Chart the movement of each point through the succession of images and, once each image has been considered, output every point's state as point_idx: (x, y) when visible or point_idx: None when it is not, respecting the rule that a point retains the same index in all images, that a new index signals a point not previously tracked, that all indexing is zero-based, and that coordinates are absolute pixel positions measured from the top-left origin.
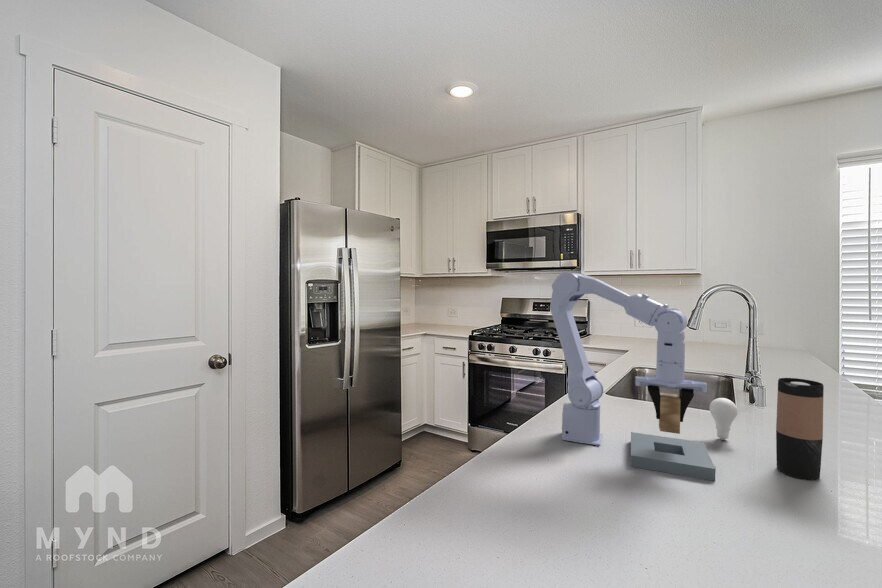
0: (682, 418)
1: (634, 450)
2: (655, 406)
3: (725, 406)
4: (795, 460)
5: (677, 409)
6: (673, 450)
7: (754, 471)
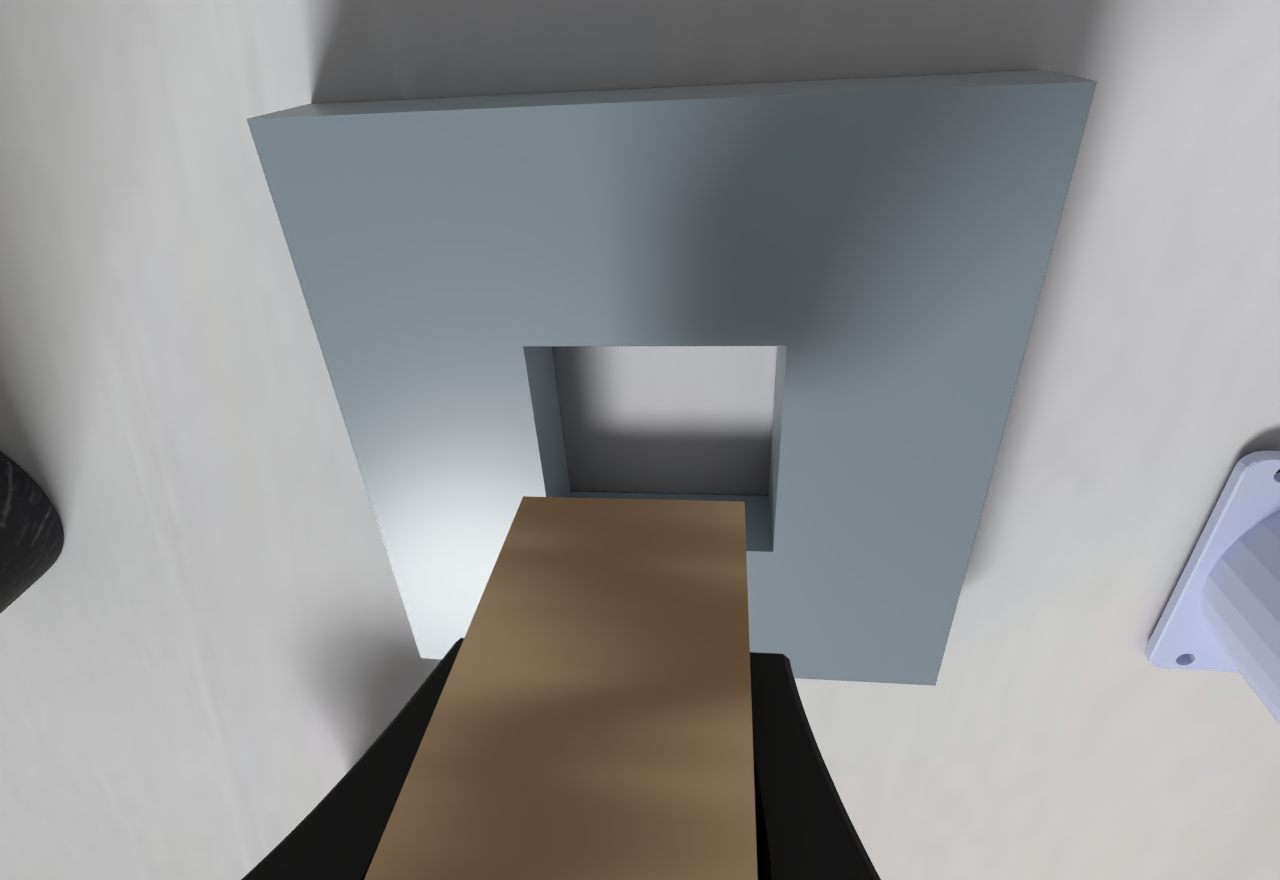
0: (438, 673)
1: (1008, 268)
2: (844, 835)
3: None
4: None
5: (451, 786)
6: None
7: (140, 428)
